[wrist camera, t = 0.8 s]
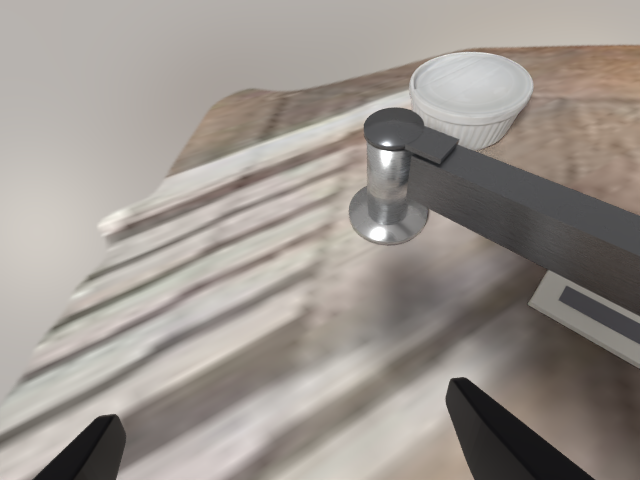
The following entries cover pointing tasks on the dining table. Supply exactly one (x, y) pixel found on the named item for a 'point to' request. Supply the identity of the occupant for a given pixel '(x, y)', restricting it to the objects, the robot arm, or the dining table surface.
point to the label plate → (589, 316)
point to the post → (387, 200)
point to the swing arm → (517, 208)
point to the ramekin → (470, 96)
